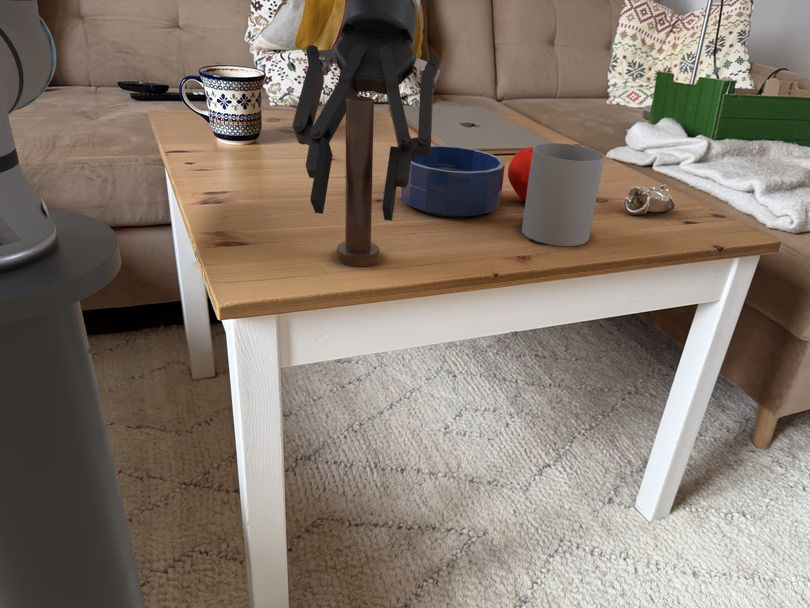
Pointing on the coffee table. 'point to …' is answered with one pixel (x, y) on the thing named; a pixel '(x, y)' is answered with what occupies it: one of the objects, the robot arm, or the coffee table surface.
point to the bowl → (454, 182)
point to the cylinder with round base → (358, 184)
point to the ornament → (648, 200)
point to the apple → (520, 172)
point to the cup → (561, 193)
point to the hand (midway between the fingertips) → (352, 210)
